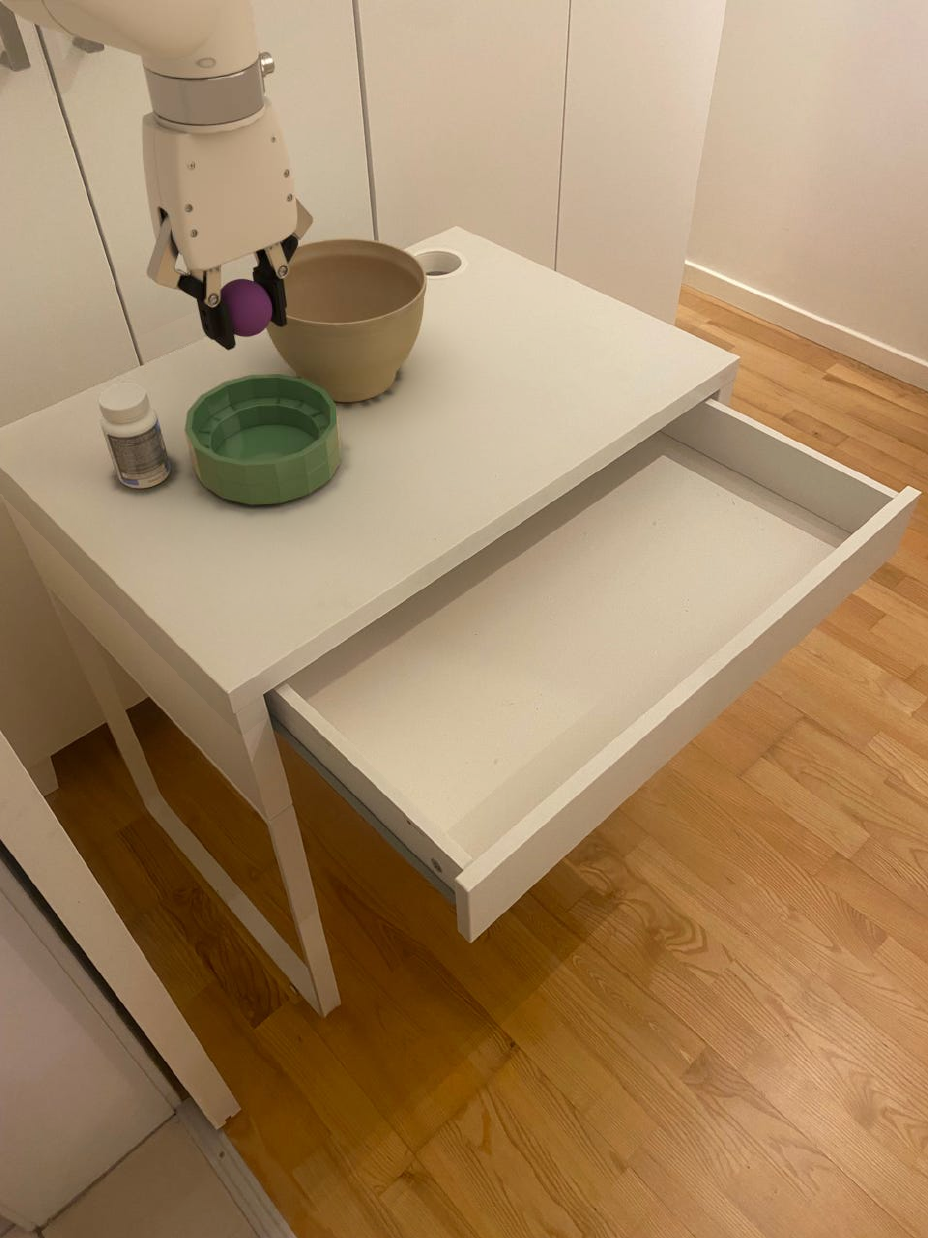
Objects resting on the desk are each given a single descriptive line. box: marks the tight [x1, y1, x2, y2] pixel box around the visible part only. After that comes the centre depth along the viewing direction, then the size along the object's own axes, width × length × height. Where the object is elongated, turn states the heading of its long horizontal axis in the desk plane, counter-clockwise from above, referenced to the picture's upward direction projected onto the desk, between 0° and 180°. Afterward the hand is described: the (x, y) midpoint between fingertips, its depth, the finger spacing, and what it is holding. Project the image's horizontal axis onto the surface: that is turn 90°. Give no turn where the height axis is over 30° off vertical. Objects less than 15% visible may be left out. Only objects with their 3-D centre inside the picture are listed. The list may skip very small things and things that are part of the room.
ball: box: [221, 278, 272, 338], centre depth 76 cm, size 4×4×4 cm
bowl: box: [184, 373, 342, 506], centre depth 87 cm, size 13×13×5 cm
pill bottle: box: [97, 381, 171, 489], centre depth 84 cm, size 5×5×8 cm
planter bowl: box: [265, 237, 428, 403], centre depth 94 cm, size 16×16×11 cm
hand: (247, 328), depth 78 cm, fingers closed on ball, 4 cm apart
